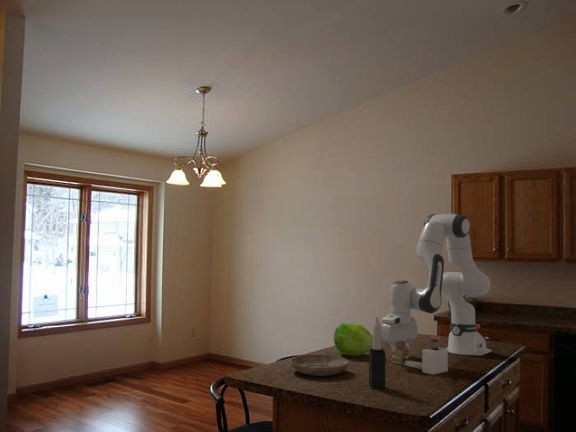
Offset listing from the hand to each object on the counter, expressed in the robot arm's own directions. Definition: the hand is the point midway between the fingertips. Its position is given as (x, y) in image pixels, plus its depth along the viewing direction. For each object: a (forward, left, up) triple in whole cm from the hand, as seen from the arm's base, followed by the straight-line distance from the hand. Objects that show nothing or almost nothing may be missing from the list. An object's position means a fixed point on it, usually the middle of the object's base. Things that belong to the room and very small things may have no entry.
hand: (400, 350), depth 224 cm
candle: (+38, +21, -6) cm, 44 cm away
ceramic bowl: (+40, -8, -6) cm, 41 cm away
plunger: (0, +18, +2) cm, 18 cm away
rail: (0, +6, -6) cm, 8 cm away
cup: (-13, -10, -6) cm, 18 cm away
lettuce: (+4, -24, -6) cm, 25 cm away
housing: (0, +18, -6) cm, 19 cm away
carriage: (0, 0, -6) cm, 6 cm away
